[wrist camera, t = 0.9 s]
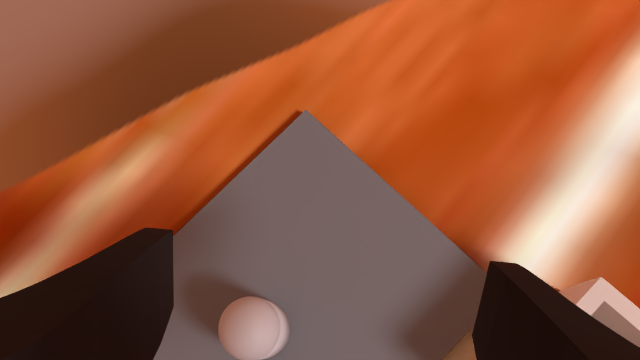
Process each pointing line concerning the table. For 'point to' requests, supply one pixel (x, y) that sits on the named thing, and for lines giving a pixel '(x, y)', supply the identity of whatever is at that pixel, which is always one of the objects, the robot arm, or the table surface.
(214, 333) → the duct board
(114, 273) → the robot arm
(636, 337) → the collar
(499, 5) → the table surface
